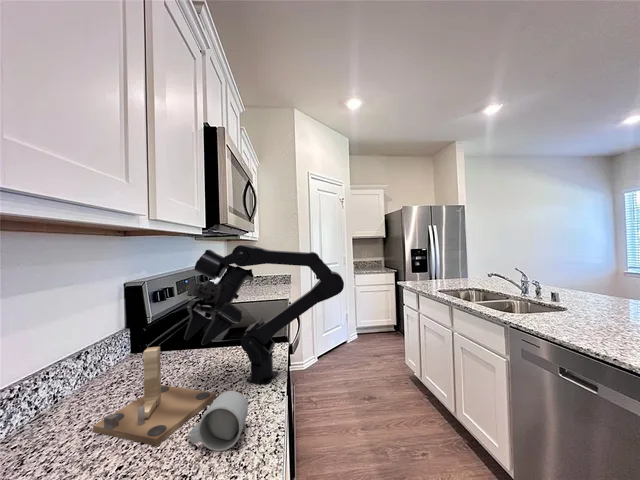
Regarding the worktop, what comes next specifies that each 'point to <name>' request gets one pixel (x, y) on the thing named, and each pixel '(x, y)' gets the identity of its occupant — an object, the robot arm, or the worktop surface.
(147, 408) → the hinged leg
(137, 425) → the stool seat
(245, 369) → the worktop surface
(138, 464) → the worktop surface
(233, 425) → the ceramic mug
